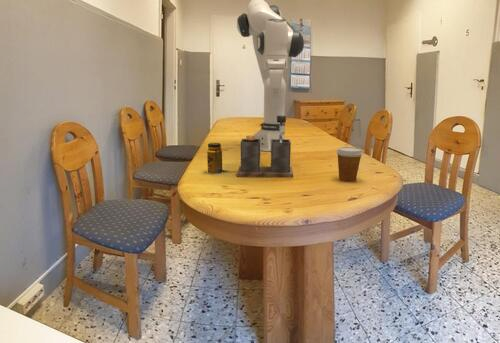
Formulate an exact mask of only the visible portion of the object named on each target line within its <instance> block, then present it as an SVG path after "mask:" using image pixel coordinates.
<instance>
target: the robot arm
mask: <svg viewBox="0 0 500 343" xmlns="http://www.w3.org/2000/svg"><path fill="white" fill-rule="evenodd" d="M246 8H247V9H246V12H242V14H240V15H239V16H238V17H237V19H236V28H237V31H238V33H239V34H240V36H241V37H243V38H249V37H250V36H251V37H252V44H253V45H252V46H253V50H254V54H255V57H256V61H257V64H258V69H259V72H260V76H261V80H262V83H263V86H264V87H263V122H262V123H259V127H260V129H259V130H258V131H256V132H255V133H254V134H253V135H252V136H255V139H260V152H271V139H279V131H280V123H279V122H277V116H280V115H282V116H286V115H285V112H286V110H285V109H286V108H285V107H286V91H287V88H286V87H287V84H286V80H285V79H284V76H283V75H284V74H285V69H286V70H287V69H288V62H289V61H288V60H289V58H296V57H298V56H300V55H301V53H302V52H303V51H304V46H305V39H304V37H303V35H302V33H301V32H300V31H299V30H296V29H295V28H294V27H293V26H292V25H291V24H290V23H289V21H288V20H286V19H285V18H284V17H283V15H282V12H281V10H280V8H279V7H278V6H277V5H276V4H275V5H272V4H271V5H269V4H268V3H267V1H265V0H250V1H249V2H248V5H247V7H246ZM285 133H286V122H285V123H283V133H282V139H285Z"/></svg>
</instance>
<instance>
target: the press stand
mask: <svg viewBox="0 0 500 343" xmlns="http://www.w3.org/2000/svg"><path fill="white" fill-rule="evenodd" d="M291 142H292V141H291V139H287V138H286V139H282V142H279V139H271V151H270V166H261V150H260V139H255V142H246V138H242V139H241V141H240V165H239V167H238V169H237V172H236V173H237V174H236V175H237V176H236V177H237V178H277V179H278V178H281V179H282V178H286V179H287V178H288V179H289V178H290V179H292V178H294V170H293V167H292V166H291V150H292V149H291V147H292V146H291V145H292V144H291Z"/></svg>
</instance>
